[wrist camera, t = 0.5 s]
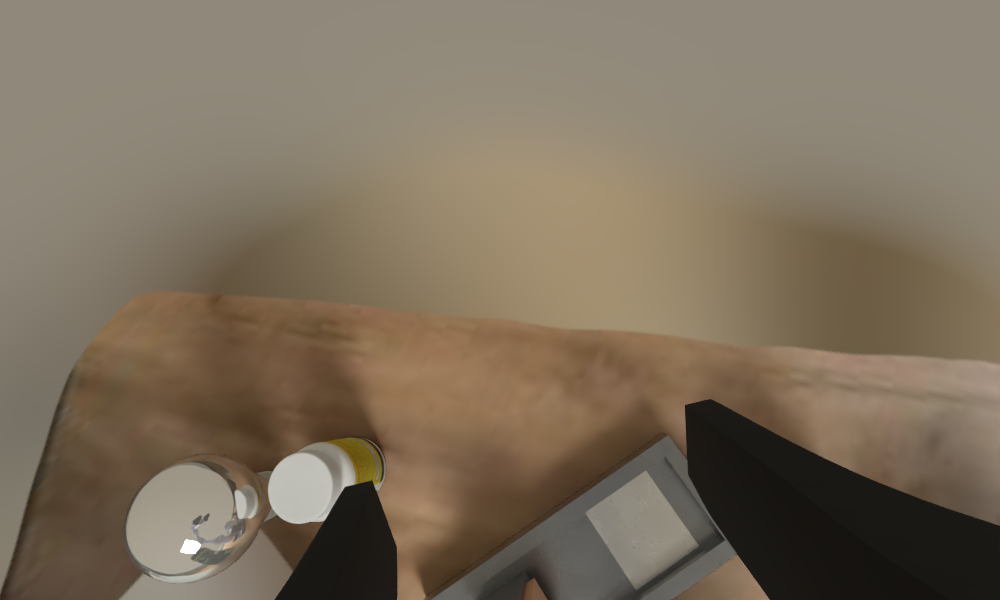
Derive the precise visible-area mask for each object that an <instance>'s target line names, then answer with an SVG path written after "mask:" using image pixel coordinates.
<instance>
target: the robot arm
mask: <svg viewBox="0 0 1000 600" xmlns="http://www.w3.org/2000/svg"><path fill="white" fill-rule="evenodd" d="M685 418H686V441H687V465H688V476H689V478H690V479H691V481H692V483H693V485H694V487H695V489H696V491H697V493H698V495H699V496H700V498H701V500H702V502H703V504H704V505H705V507H706V509H707V511H708V512H709V514H710V516H711V517H712V519H713V520H714V522H715V523H716V525H717V526H718V527H719V529H720V530H721V532H722V533H723V535H724V536H725V537H726V539H727V540H728V542H729V543H730V544H731V546H732V547H733V549H734V550H735V552H736V553H737V554H738V556H739V557H740V559H741V560H742V561H743V563H744V564H745V565H746V567H747V568H748V570H749V571H750V572H751V574H752V575H753V577H754V578H755V579H756V581H757V582H758V584H759V585H760V586H761V588H762V589H763V591H764V592H765V593H766V595H767V596H768V598H769V599H770V600H1000V526H998V525H995V524H992V523H989V522H986V521H983V520H980V519H977V518H974V517H971V516H968V515H965V514H962V513H959V512H956V511H953V510H950V509H947V508H944V507H941V506H938V505H935V504H933V503H930V502H927V501H924V500H921V499H919V498H916V497H914V496H911V495H909V494H906V493H903V492H901V491H898V490H896V489H893V488H891V487H888V486H886V485H883V484H881V483H878V482H876V481H873V480H871V479H869V478H866V477H864V476H862V475H859V474H857V473H855V472H853V471H850V470H848V469H846V468H844V467H842V466H840V465H837V464H835V463H833V462H831V461H829V460H827V459H824V458H822V457H820V456H818V455H816V454H814V453H812V452H810V451H808V450H806V449H804V448H802V447H800V446H798V445H796V444H794V443H792V442H790V441H788V440H786V439H784V438H783V437H781V436H779V435H777V434H775V433H773V432H771V431H769V430H767V429H766V428H764V427H762V426H760V425H758V424H756V423H754V422H753V421H751V420H749V419H747V418H745V417H743V416H742V415H740V414H738V413H736V412H734V411H732V410H731V409H729V408H727V407H725V406H723V405H721V404H719V403H717V402H715V401H713V400H711V399H709V400H705V401H700V402H696V403H692V404H688V405H685ZM275 600H397V547H396V544H395V541H394V538H393V536H392V533H391V530H390V527H389V525H388V522H387V519H386V516H385V514H384V511H383V508H382V505H381V503H380V500H379V497H378V494H377V492H376V489H375V486H374V483H373V481H372V480H371V481H367V482H363V483H359V484H355V485H350V486H346V487H345V488H344V489H343V491H342V492H341V494H340V495H339V497H338V499H337V500H336V502H335V504H334V505H333V507H332V509H331V511H330V512H329V514H328V516H327V517H326V519H325V521H324V522H323V524H322V526H321V528H320V529H319V531H318V533H317V534H316V536H315V538H314V539H313V541H312V543H311V544H310V546H309V547H308V549H307V551H306V552H305V554H304V555H303V557H302V559H301V560H300V562H299V563H298V565H297V567H296V568H295V570H294V571H293V573H292V575H291V576H290V578H289V579H288V581H287V582H286V584H285V586H284V587H283V588H282V590H281V591H280V593H279V594H278V596H277V597H276V599H275Z"/></svg>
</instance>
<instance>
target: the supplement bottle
mask: <svg viewBox="0 0 1000 600" xmlns="http://www.w3.org/2000/svg"><path fill="white" fill-rule="evenodd" d="M385 473H386V463H385V459H384V456H383V454H382V452H381V450H380V449H379V447H378V446H377V445H376V444H374V443H373V442H372V441H370V440H368V439H365V438H361V437H349V438H343V439H337V440H330V441H324V442H317V443H313V444H311V445H308V446H306V447H304V448H302V449H301V450H300V451H298V452H297V453H294V454H291V455H289V456H287V457H285V458H284V459H283V460H282V461H281V462H279V463H278V465H277V466H276V467H275V469H274V470H273V472H272V474H271V477H270V480H269V484H268V497H269V501H270V504H271V507H272V508H273V510H274V511H275V513H276V514H277V515H278V516H279V517H280V518H282V519H283V520H285V521H287V522H290V523H294V524H303V523H308V522H322V521H325V519H326V517H327V516H328V514H329V512H330V511H331V509H332V507H333V505H334V504H335V502H336V500H337V499H338V497H339V495H340V494H341V492H342V491H343V489H344V488H345V487H346V486H350V485H355V484H359V483H363V482H367V481H371V480H372V481H373V483H374V486H375V489H376V492H378V491H379V490H380V488H381V486H382V484H383V482H384V478H385Z"/></svg>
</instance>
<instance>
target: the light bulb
mask: <svg viewBox="0 0 1000 600" xmlns="http://www.w3.org/2000/svg"><path fill="white" fill-rule="evenodd" d="M272 472H273V471H263V472H259V473H254V472H252V471H251V470H250V469H249V468H248V467H247V466H246V465H244V464H243V463H242V462H240V461H238V460H236V459H233V458H231V457H228V456H226V455H221V454H210V453H207V454H195V455H192V456H188V457H184V458H181V459H178V460H176V461H174V462H172V463H170V464H168V465H166V466H164V467H163V468H161V469H159V470H158V471H157V472H155V473H154V474H153V475H152V476H151V477H150V478H149V479H148V480H147V481H146V482H145V483H144V484H143V485H142V486H141V487H140V488H139V489H138V491H137V492H136V494H135V496H134V497H133V499H132V501H131V503H130V505H129V508H128V510H127V513H126V517H125V520H124V527H123V537H124V544H125V548H126V551H127V553H128V555H129V557H130V559H131V560H132V561H133V563H134V564H135V565H136V566H137V568H138V569H139V570H140V571H142V572H143V573H144V574H145V575H147V576H149V577H152V578H154V579H156V580H159V581H162V582H167V583H193V582H197V581H200V580H204V579H207V578H210V577H212V576H214V575H216V574H218V573H220V572H222V571H224V570H225V569H227V568H228V567H229V566H231V565H232V564H233V563H234V562H236V561H237V560H238V559H239V558H240V557H241V556H242V555H243V554H244V553H245V551H246V550H247V549H248V548H249V547H250V545H251V544H252V542H253V541H254V539H255V537H256V536H257V533H258V531H259V528H260V526H261V524H262V523H263V522H264V521H266V520H269V519H271V518H273V517H275V516H276V515H277V514H276V513H275V511H274V510H273V508H272V507H271V504H270V501H269V497H268V484H269V480H270V477H271V474H272Z"/></svg>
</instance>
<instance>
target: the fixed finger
mask: <svg viewBox="0 0 1000 600" xmlns="http://www.w3.org/2000/svg"><path fill="white" fill-rule="evenodd" d="M482 600H547V598H546V596H545V595H544V593H543V591H542V590H541V588H540V586H539V585H538V583H537V582H536V580H535V578H533V579H532V580H530V578H529V577H528V575H527V573H526V572H525V570H524V571H522V572H521V573H520V574H518V575H517V576H515V577H514V578H512V579H511V580H509V581H508V582H507V583H505V584H504V585H502V586H501V587H499V588H498V589H497V590H495V591H494V592H492V593H491V594H489V595H488V596H487V597H485V598H484V599H482Z"/></svg>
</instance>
